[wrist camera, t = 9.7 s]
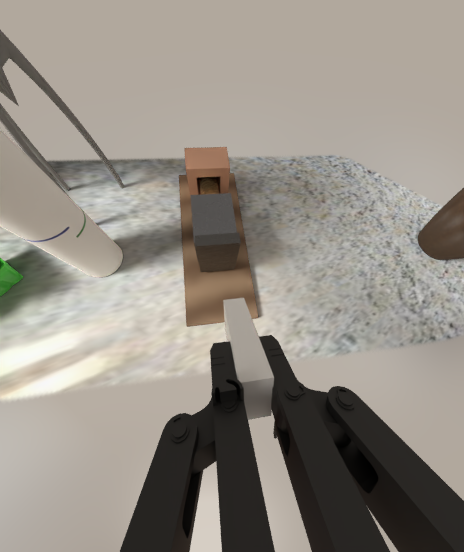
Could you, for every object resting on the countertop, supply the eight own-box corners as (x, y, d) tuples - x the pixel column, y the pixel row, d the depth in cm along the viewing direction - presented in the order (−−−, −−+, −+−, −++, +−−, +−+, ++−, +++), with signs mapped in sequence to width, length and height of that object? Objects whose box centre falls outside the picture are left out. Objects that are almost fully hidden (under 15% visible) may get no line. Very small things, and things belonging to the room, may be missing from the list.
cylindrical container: (73, 261, 36) (-209, 95, 12) (105, 235, 38) (-82, 51, 14) (99, 285, 34) (-160, 152, 11) (131, 257, 37) (-29, 95, 13)
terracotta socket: (227, 198, 42) (229, 167, 35) (191, 199, 41) (185, 169, 34) (224, 179, 44) (226, 147, 36) (189, 181, 43) (184, 148, 36)
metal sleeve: (234, 258, 37) (238, 239, 31) (197, 261, 36) (193, 242, 30) (228, 218, 40) (230, 193, 34) (194, 220, 39) (190, 195, 33)
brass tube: (234, 269, 35) (240, 242, 26) (200, 272, 35) (195, 246, 26) (222, 183, 42) (224, 138, 33) (193, 184, 41) (187, 139, 32)
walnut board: (257, 318, 35) (258, 317, 34) (187, 326, 33) (186, 325, 32) (233, 176, 45) (233, 173, 44) (179, 179, 44) (178, 175, 43)
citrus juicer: (65, 188, 41) (-268, -168, 13) (111, 168, 43) (-77, -161, 15) (90, 227, 38) (-252, -104, 10) (137, 204, 41) (-28, -110, 13)
